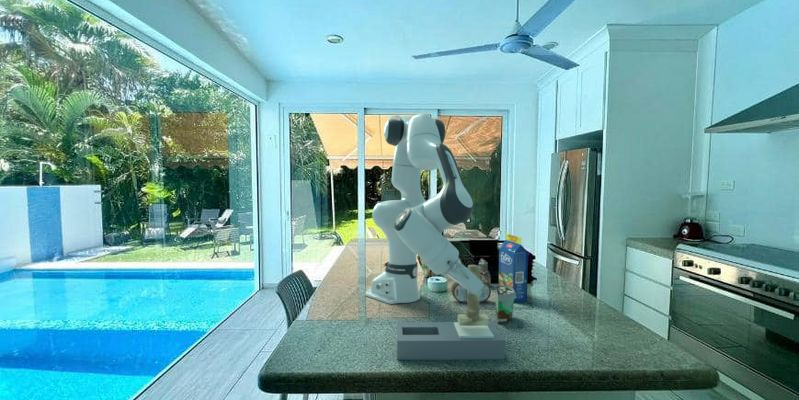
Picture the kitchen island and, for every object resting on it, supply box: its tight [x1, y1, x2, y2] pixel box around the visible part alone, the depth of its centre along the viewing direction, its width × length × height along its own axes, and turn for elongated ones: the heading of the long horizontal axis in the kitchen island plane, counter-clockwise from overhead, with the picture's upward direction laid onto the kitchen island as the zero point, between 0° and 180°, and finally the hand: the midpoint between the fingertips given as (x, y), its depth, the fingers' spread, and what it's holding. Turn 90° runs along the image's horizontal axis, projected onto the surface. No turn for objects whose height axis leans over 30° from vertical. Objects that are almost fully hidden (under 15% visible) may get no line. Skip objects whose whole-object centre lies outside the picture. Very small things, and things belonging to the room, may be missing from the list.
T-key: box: [457, 264, 490, 326], centre depth 96 cm, size 8×3×16 cm, turn 91°
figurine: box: [478, 258, 492, 288], centre depth 154 cm, size 7×7×12 cm
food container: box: [495, 284, 516, 325], centre depth 117 cm, size 12×6×10 cm, turn 168°
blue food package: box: [498, 232, 529, 303], centre depth 139 cm, size 6×12×25 cm, turn 10°
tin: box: [450, 280, 492, 303], centre depth 134 cm, size 15×3×8 cm, turn 92°
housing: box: [396, 321, 506, 361], centre depth 96 cm, size 28×12×6 cm, turn 91°
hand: (475, 291), depth 96 cm, fingers closed on T-key, 3 cm apart
